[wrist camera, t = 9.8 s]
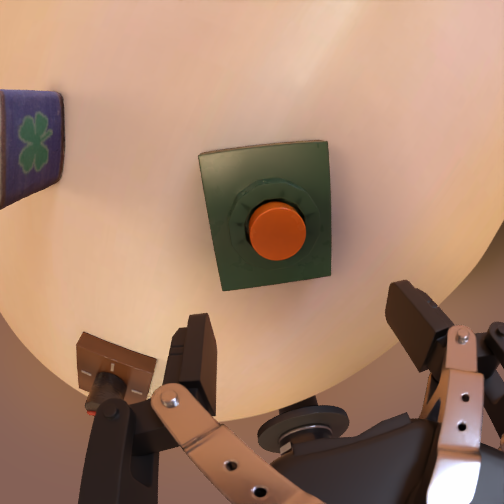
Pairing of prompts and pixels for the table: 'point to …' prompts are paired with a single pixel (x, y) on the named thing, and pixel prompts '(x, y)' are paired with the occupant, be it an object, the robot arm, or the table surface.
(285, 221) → the button
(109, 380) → the knob
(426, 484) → the robot arm
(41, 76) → the table surface
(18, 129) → the flask
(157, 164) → the table surface
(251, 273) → the button box
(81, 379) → the panel
